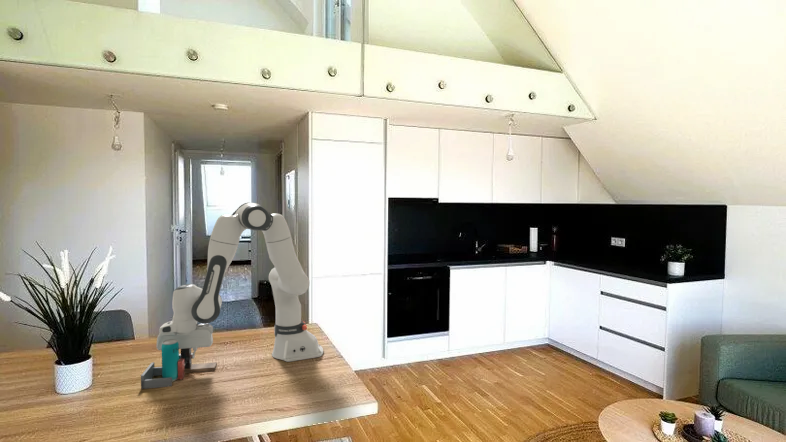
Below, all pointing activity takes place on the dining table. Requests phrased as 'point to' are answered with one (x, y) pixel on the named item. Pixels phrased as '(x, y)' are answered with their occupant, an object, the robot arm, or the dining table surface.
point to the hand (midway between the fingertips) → (185, 358)
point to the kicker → (184, 362)
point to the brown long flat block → (201, 367)
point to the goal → (154, 383)
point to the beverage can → (170, 359)
